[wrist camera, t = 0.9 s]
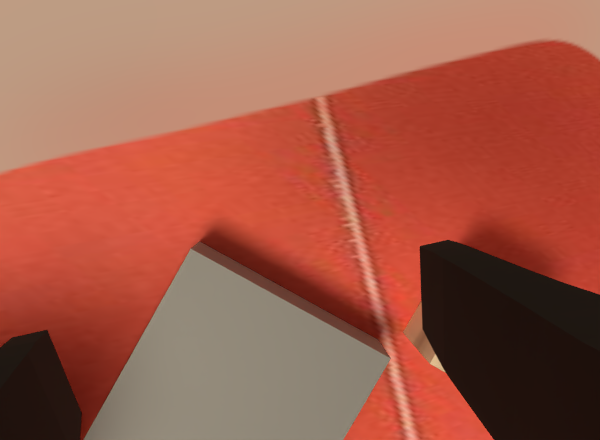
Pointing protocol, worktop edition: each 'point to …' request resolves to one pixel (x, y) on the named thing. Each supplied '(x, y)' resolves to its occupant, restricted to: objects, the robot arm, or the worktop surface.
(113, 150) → the worktop surface
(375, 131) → the worktop surface
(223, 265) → the slate pedestal
